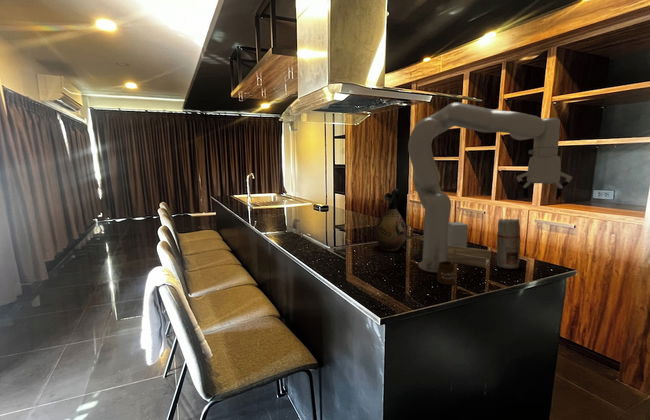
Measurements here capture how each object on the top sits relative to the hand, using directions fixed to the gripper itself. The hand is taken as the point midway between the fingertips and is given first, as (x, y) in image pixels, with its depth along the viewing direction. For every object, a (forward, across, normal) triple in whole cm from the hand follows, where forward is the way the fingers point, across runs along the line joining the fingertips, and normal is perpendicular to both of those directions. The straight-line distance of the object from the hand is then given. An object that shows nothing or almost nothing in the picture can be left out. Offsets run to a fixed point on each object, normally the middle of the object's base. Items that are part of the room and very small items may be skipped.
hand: (541, 198), depth 120 cm
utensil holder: (+28, -26, -31) cm, 50 cm away
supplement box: (+29, -34, +18) cm, 48 cm away
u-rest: (+28, -28, 0) cm, 40 cm away
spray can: (+29, -10, 0) cm, 30 cm away
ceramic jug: (+28, -61, 0) cm, 67 cm away
